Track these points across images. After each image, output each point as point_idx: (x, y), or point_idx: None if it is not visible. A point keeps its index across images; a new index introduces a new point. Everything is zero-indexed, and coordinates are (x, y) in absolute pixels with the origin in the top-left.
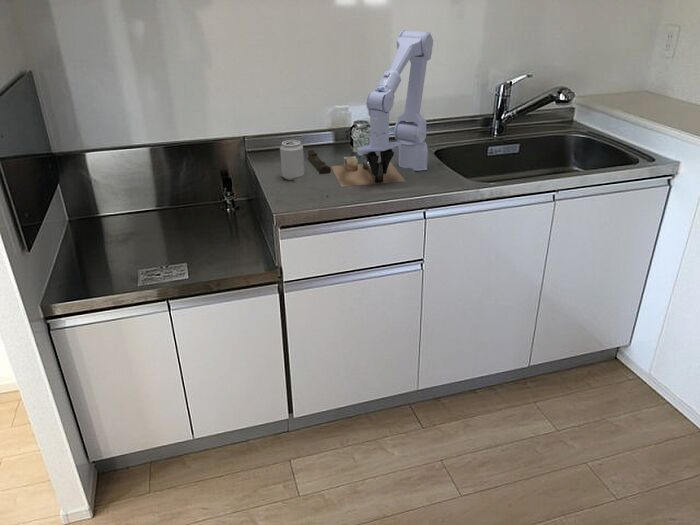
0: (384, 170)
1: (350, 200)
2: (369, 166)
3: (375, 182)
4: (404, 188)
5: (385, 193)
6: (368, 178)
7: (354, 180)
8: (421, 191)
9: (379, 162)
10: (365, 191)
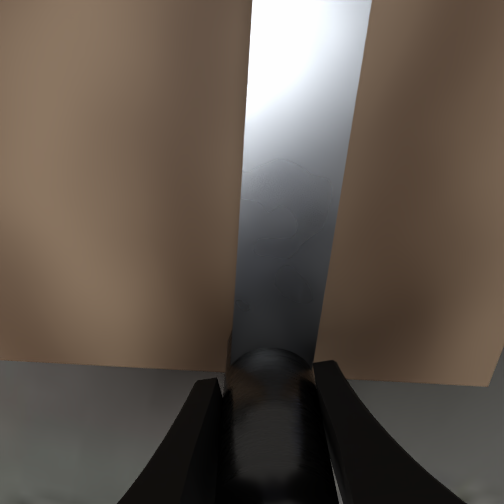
0: (327, 443)
1: (10, 489)
2: (256, 66)
3: None
4: (425, 415)
5: None
6: (196, 239)
7: (46, 253)
8: (500, 479)
9: (286, 501)
10: (131, 395)
